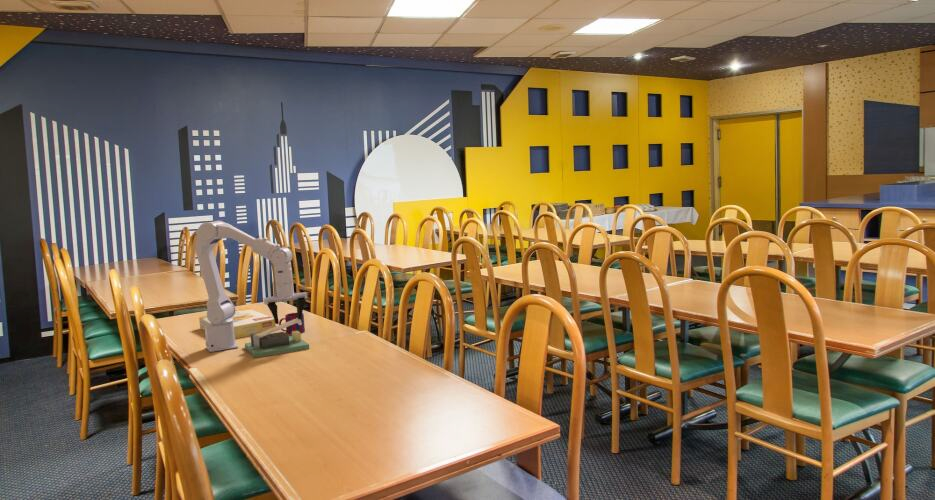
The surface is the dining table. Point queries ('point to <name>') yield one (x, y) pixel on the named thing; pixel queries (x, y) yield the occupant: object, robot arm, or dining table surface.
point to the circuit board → (277, 348)
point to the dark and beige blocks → (273, 339)
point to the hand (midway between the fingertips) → (288, 321)
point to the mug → (295, 326)
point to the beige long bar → (279, 327)
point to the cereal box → (246, 322)
